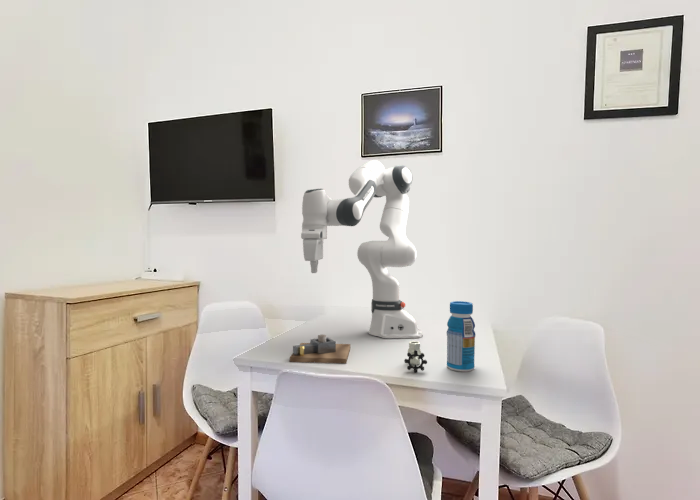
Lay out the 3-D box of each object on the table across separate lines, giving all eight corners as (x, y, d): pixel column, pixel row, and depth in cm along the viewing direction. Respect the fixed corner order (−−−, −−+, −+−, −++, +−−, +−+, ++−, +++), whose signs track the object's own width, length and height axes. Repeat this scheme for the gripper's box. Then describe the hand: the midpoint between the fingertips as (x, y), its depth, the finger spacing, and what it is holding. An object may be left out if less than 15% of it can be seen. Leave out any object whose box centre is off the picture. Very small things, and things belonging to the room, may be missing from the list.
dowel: (304, 359, 127) (304, 345, 127) (303, 361, 125) (303, 347, 125) (300, 359, 127) (300, 345, 127) (299, 360, 125) (299, 346, 125)
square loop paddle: (327, 347, 136) (327, 337, 136) (335, 351, 131) (335, 341, 131) (290, 352, 130) (290, 341, 130) (298, 357, 124) (298, 346, 124)
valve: (403, 360, 127) (404, 372, 115) (403, 340, 127) (404, 350, 115) (424, 361, 126) (427, 373, 114) (424, 341, 126) (427, 351, 114)
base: (350, 348, 141) (350, 330, 141) (346, 363, 123) (346, 342, 123) (301, 346, 142) (301, 329, 142) (289, 361, 124) (289, 341, 124)
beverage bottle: (444, 370, 117) (445, 303, 117) (447, 362, 125) (448, 299, 125) (474, 374, 114) (475, 305, 114) (475, 365, 122) (476, 301, 122)
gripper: (310, 234, 150) (310, 270, 150) (300, 233, 130) (299, 274, 130) (327, 234, 150) (326, 271, 150) (319, 233, 129) (318, 275, 129)
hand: (314, 272), depth 140 cm, fingers closed
